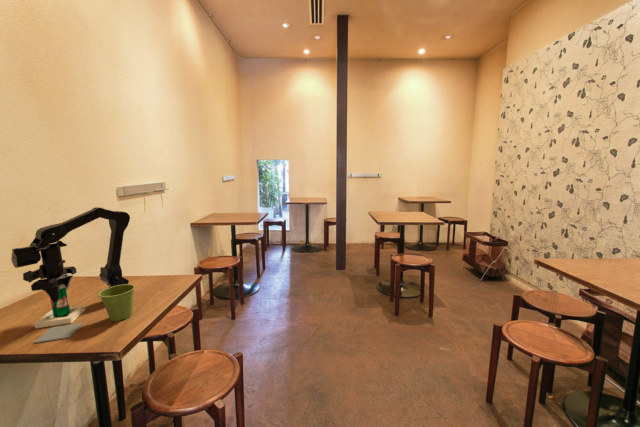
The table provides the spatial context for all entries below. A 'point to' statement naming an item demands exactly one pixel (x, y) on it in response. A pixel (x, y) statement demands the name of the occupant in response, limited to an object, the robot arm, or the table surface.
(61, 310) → the soda can
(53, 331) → the grey mat
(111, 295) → the plant pot
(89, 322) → the table surface
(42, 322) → the block
